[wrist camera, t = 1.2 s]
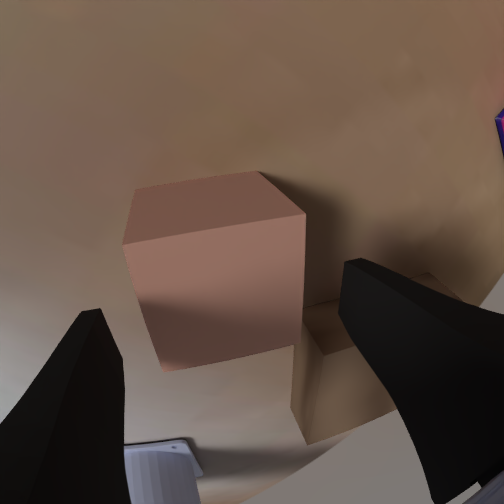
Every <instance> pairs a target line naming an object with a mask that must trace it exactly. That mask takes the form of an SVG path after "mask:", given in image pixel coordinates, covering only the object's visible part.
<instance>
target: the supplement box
mask: <svg viewBox="0 0 504 504" xmlns="http://www.w3.org/2000/svg"><path fill="white" fill-rule="evenodd" d="M495 121H496V125H497V129H498V132H499V137H500V141H501V145H502V150H503V155H504V109H503V110H502V111H501V112H500V113H499V114H498V115H497V117H496V118H495Z"/></svg>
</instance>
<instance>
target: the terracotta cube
mask: <svg viewBox="0 0 504 504" xmlns="http://www.w3.org/2000/svg"><path fill="white" fill-rule="evenodd" d="M305 238H306V213H305V212H303V211H302V210H301V209H300V208H299V207H298V206H297V205H296V204H294V203H293V202H292V201H291V200H290V199H289V198H288V197H287V196H285V195H284V194H283V193H282V192H281V191H280V190H278V189H277V188H276V187H275V186H274V185H273V184H272V183H270V182H269V181H268V180H267V179H266V178H265V177H263V176H262V175H261V174H260V173H259V172H258V171H252V172H244V173H236V174H229V175H221V176H214V177H207V178H201V179H194V180H188V181H182V182H176V183H170V184H164V185H158V186H153V187H147V188H142V189H136V190H135V193H134V196H133V200H132V204H131V209H130V213H129V217H128V221H127V226H126V230H125V235H124V239H123V244H122V246H123V250H124V254H125V257H126V261H127V264H128V268H129V272H130V275H131V278H132V282H133V285H134V288H135V292H136V295H137V298H138V301H139V304H140V308H141V311H142V314H143V317H144V320H145V323H146V326H147V329H148V331H149V334H150V337H151V340H152V343H153V346H154V348H155V351H156V354H157V356H158V359H159V362H160V364H161V367H162V370H163V372H169V371H175V370H180V369H186V368H191V367H197V366H202V365H207V364H212V363H217V362H222V361H227V360H231V359H236V358H240V357H245V356H249V355H253V354H258V353H262V352H266V351H270V350H274V349H278V348H282V347H286V346H290V345H293V344H297V343H301V327H302V310H303V291H304V268H305Z"/></svg>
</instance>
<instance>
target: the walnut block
mask: <svg viewBox="0 0 504 504" xmlns="http://www.w3.org/2000/svg"><path fill="white" fill-rule="evenodd" d="M410 279H411V280H413V281H415V282H417V283H420V284H422V285H424V286H426V287H428V288H431V289H433V290H435V291H438V292H440V293H442V294H445V295H447V296H450V297H452V298H454V299H457V300H459V301H462V300H461V299H459V298H458V297H457V296H456V295H455V294H454V293H453V292H451V291H450V290H449V289H448V288H447V287H446V286H444V285H443V284H442V283H441V282H440V281H439V280H437V279H436V278H435V277H434V276H433V275H431V274H430V273H426V274H423V275H420V276H417V277H414V278H410ZM339 302H340V299H337V300H333V301H329V302H325V303H321V304H317V305H313V306H309V307H305V308H303V310H302V327H301V343H297V344H294V360H293V377H292V392H291V406H290V408H291V410H292V412H293V414H294V417H295V419H296V421H297V423H298V426H299V428H300V430H301V432H302V434H303V437H304V439H305V441H306V443H307V445H310V444H313V443H316V442H319V441H321V440H324V439H327V438H330V437H332V436H335V435H338V434H340V433H343V432H346V431H348V430H351V429H353V428H355V427H358V426H360V425H363V424H365V423H367V422H370V421H372V420H374V419H376V418H378V417H381V416H383V415H385V414H387V413H389V412H391V411H394V410H396V409H397V408H396V406H395V404H394V402H393V400H392V398H391V397H390V395H389V393H388V392H387V390H386V389H385V387H384V386H383V384H382V383H381V381H380V380H379V378H378V377H377V376H376V374H375V373H374V371H373V370H372V368H371V367H370V366H369V364H368V363H367V361H366V360H365V359H364V357H363V356H362V354H361V353H360V351H359V350H358V348H357V347H356V346H355V344H354V343H353V341H352V340H351V338H350V336H349V334H348V332H347V331H346V329H345V327H344V325H343V323H342V321H341V319H340V317H339V315H338V309H339ZM462 302H463V301H462Z"/></svg>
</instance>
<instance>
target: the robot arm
mask: <svg viewBox="0 0 504 504" xmlns="http://www.w3.org/2000/svg"><path fill="white" fill-rule="evenodd" d="M338 315H339V317H340V319H341V321H342V323H343V325H344V327H345V329H346V331H347V332H348V334H349V336H350V338H351V340H352V341H353V343H354V344H355V346H356V347H357V348H358V350H359V351H360V353H361V354H362V356H363V357H364V359H365V360H366V361H367V363H368V364H369V366H370V367H371V368H372V370H373V371H374V373H375V374H376V376H377V377H378V378H379V380H380V381H381V383H382V384H383V386H384V387H385V389H386V390H387V392H388V393H389V395H390V397H391V398H392V400H393V402H394V404H395V406H396V408H397V409H398V411H399V413H400V415H401V417H402V419H403V421H404V423H405V425H406V428H407V430H408V432H409V434H410V437H411V439H412V441H413V443H414V446H415V448H416V451H417V454H418V456H419V459H420V462H421V464H422V467H423V470H424V473H425V477H426V480H427V483H428V487H429V490H430V494H431V498H432V500H433V502H434V504H446V503H447V502H449V501H450V500H452V499H453V498H455V497H457V496H458V495H459V494H461V493H462V492H464V491H465V490H467V489H468V488H470V487H471V486H472V485H473V484H475V483H476V482H478V483H479V484H480V486H481V489H480V490H479V491H478V492H476V493H475V494H474V495H473V496H471V497H470V498H469V499H468V500H466V501H465V502H464V503H463V504H504V314H499V313H496V312H492V311H488V310H486V309H482V308H479V307H477V306H474V305H471V304H468V303H465V302H462V301H459V300H457V299H454V298H452V297H450V296H447V295H445V294H442V293H440V292H438V291H435V290H433V289H431V288H428V287H426V286H424V285H422V284H420V283H417V282H415V281H413V280H411V279H409V278H407V277H405V276H402V275H400V274H398V273H396V272H394V271H392V270H390V269H387V268H385V267H383V266H381V265H378V264H376V263H374V262H371V261H369V260H366V259H363V258H358V259H354V260H349V261H345V262H344V271H343V279H342V287H341V294H340V302H339V309H338ZM124 406H125V383H124V370H123V358H122V356H121V354H120V352H119V350H118V347H117V345H116V343H115V341H114V339H113V336H112V334H111V332H110V329H109V327H108V325H107V322H106V320H105V318H104V315H103V313H102V310H101V308H99V309H93V310H87V311H81V313H80V314H79V315H78V317H77V318H76V319H75V321H74V322H73V324H72V325H71V326H70V328H69V329H68V331H67V332H66V334H65V335H64V337H63V338H62V340H61V341H60V343H59V344H58V346H57V347H56V349H55V350H54V352H53V353H52V354H51V356H50V358H49V359H48V361H47V362H46V364H45V365H44V366H43V368H42V369H41V371H40V372H39V373H38V375H37V376H36V378H35V379H34V380H33V382H32V383H31V385H30V386H29V388H28V389H27V391H26V392H25V393H24V395H23V396H22V397H21V399H20V400H19V401H18V403H17V404H16V405H15V406H14V408H13V409H12V410H11V411H10V413H9V414H8V415H7V416H6V418H5V419H4V420H3V421H2V422H1V424H0V504H201V501H200V497H199V493H198V488H197V484H196V479H195V477H201V476H203V471H202V469H201V467H200V466H199V464H198V462H197V460H196V458H195V456H194V455H193V453H192V451H191V449H190V447H189V445H188V443H187V441H185V440H173V441H166V442H158V443H150V444H141V445H130V446H124Z"/></svg>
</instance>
